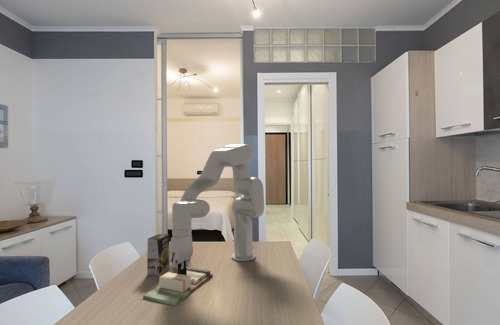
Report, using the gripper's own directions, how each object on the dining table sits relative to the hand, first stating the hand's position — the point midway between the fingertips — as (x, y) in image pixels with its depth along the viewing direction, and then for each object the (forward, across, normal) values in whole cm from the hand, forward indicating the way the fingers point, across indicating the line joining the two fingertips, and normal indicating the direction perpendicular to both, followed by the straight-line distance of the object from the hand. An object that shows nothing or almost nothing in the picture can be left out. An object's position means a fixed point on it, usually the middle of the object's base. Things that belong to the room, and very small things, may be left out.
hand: (182, 277), depth 107 cm
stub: (+2, +4, 0) cm, 5 cm away
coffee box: (+3, -8, -19) cm, 21 cm away
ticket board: (+3, +1, 0) cm, 3 cm away
